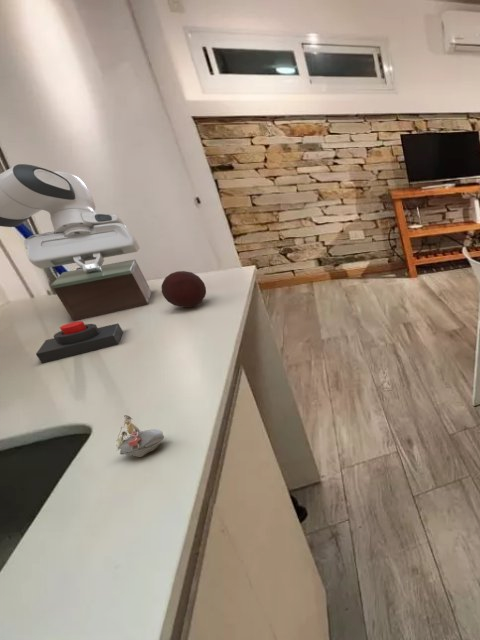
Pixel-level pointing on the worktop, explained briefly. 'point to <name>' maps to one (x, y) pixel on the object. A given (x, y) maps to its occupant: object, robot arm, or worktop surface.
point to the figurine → (138, 440)
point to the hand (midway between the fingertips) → (93, 271)
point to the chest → (105, 295)
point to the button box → (79, 342)
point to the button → (73, 327)
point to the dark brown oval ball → (183, 289)
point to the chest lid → (94, 274)
